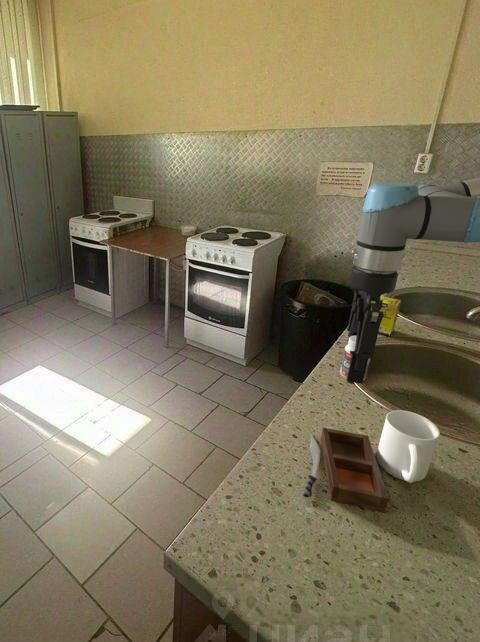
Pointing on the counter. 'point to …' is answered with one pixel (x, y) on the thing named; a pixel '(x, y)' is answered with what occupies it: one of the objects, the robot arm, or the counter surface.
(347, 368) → the pill bottle
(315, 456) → the knife
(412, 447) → the mug
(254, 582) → the counter surface
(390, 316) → the supplement box
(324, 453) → the wooden divided tray
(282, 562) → the counter surface
